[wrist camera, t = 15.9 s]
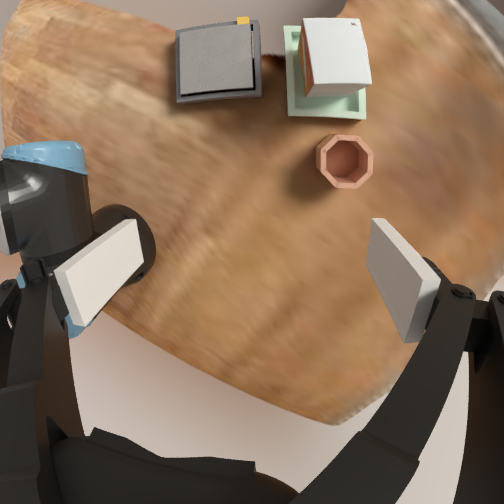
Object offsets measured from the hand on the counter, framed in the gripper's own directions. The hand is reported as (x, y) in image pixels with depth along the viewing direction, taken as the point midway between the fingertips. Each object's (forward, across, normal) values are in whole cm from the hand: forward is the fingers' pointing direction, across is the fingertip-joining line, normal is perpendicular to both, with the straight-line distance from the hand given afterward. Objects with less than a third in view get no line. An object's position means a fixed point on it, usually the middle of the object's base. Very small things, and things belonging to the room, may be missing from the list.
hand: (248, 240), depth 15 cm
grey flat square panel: (+26, -7, +17) cm, 32 cm away
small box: (+28, +8, +15) cm, 33 cm away
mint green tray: (+29, +8, +15) cm, 33 cm away
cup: (+29, +10, +2) cm, 30 cm away
